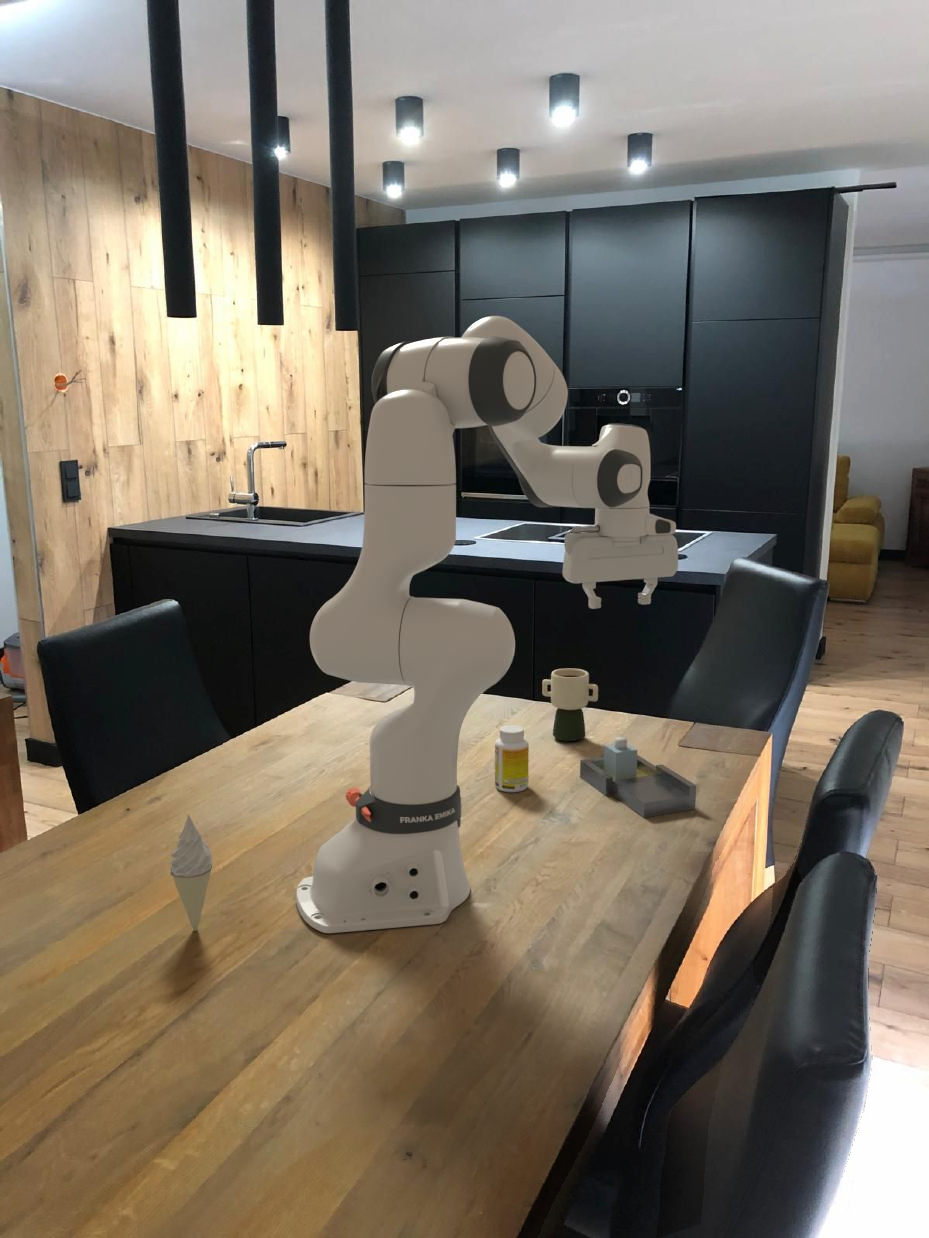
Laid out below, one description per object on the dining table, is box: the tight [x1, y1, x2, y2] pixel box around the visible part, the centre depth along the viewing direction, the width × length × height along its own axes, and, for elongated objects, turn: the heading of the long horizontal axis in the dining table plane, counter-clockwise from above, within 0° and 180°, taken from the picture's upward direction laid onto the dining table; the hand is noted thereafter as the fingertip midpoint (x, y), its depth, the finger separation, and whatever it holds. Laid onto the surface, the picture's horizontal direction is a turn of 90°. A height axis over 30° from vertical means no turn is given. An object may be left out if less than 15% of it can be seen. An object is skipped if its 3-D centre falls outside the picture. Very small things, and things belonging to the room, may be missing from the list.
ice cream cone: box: [169, 814, 214, 932], centre depth 119 cm, size 5×5×15 cm
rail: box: [579, 754, 697, 819], centre depth 163 cm, size 10×19×4 cm, turn 20°
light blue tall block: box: [603, 736, 638, 781], centre depth 166 cm, size 4×4×6 cm
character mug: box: [541, 667, 599, 742], centre depth 189 cm, size 11×7×13 cm, turn 68°
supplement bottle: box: [494, 724, 530, 793], centre depth 165 cm, size 6×6×10 cm
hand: (619, 605), depth 168 cm, fingers open, 8 cm apart
